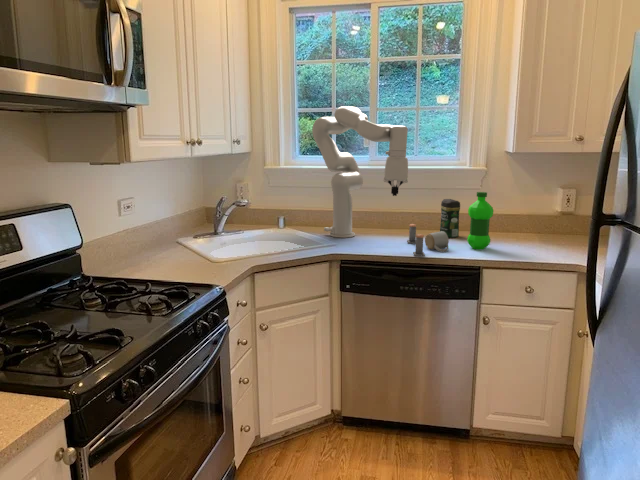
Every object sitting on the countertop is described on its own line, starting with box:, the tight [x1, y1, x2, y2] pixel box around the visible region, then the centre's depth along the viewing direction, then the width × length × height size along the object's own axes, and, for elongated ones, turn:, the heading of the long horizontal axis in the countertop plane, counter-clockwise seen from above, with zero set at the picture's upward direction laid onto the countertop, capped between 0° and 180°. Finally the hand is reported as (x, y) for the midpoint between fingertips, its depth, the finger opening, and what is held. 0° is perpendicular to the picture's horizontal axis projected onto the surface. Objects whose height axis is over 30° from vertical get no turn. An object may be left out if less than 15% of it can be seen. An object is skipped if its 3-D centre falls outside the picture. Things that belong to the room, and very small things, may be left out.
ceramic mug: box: [424, 230, 450, 253], centre depth 218 cm, size 11×8×8 cm
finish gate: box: [406, 223, 426, 257], centre depth 220 cm, size 4×28×9 cm, turn 176°
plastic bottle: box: [466, 191, 494, 251], centre depth 219 cm, size 10×10×25 cm
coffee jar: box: [439, 198, 461, 239], centre depth 245 cm, size 10×8×19 cm
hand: (394, 195), depth 224 cm, fingers closed
